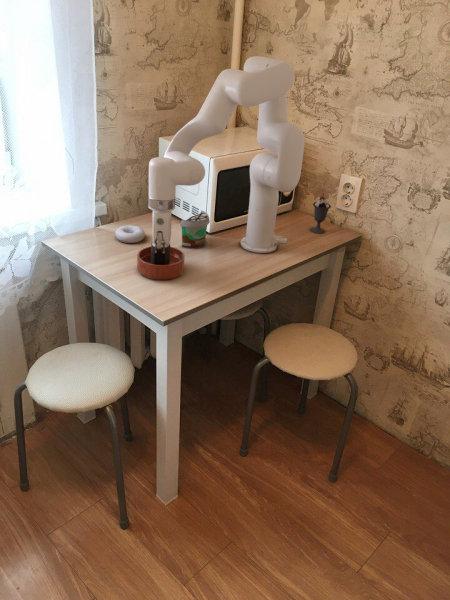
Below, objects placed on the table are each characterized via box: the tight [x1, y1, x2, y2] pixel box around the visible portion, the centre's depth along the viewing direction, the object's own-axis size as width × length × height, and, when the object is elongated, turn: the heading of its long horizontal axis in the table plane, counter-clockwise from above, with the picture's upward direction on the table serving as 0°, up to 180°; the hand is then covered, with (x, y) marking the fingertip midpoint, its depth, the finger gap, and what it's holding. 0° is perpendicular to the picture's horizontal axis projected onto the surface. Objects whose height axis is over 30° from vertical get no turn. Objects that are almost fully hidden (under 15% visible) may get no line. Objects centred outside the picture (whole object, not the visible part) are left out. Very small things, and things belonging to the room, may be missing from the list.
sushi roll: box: [150, 241, 171, 265], centre depth 153 cm, size 6×6×6 cm
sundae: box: [310, 190, 332, 234], centre depth 190 cm, size 7×7×15 cm
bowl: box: [136, 245, 185, 281], centre depth 155 cm, size 14×14×5 cm
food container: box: [180, 210, 211, 249], centre depth 172 cm, size 12×6×10 cm, turn 148°
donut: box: [114, 224, 146, 244], centre depth 174 cm, size 10×4×10 cm
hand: (160, 259), depth 154 cm, fingers closed on sushi roll, 5 cm apart
